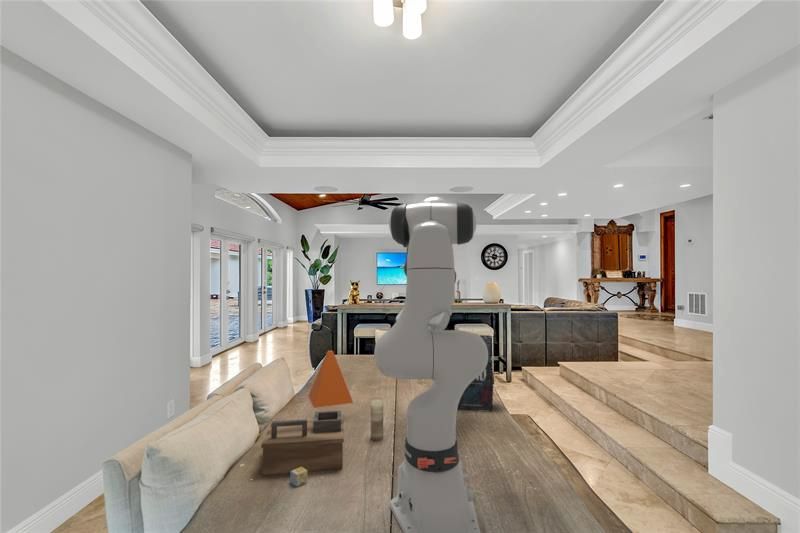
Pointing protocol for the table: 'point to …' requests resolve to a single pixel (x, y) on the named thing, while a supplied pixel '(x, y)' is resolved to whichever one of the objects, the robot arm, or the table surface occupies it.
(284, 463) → the toolbox
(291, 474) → the alphabet block
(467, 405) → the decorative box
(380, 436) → the dowel key
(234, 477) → the table surface
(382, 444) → the table surface
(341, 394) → the pyramid
